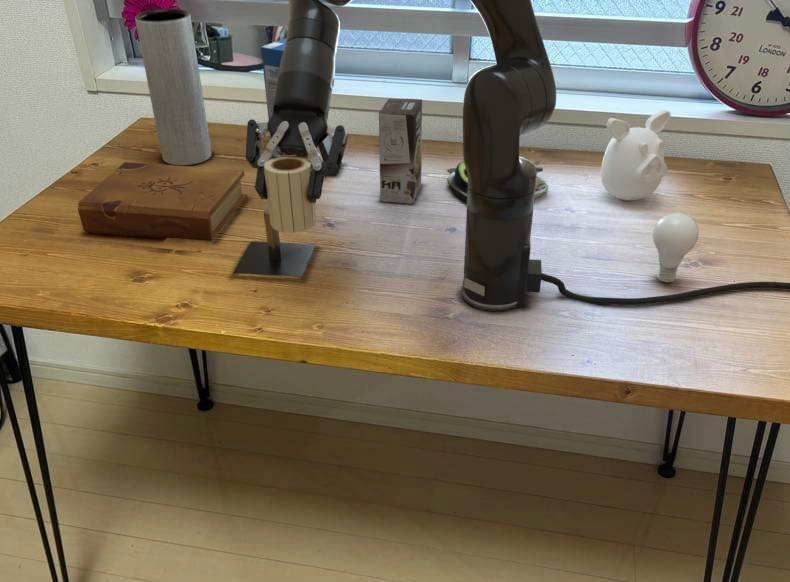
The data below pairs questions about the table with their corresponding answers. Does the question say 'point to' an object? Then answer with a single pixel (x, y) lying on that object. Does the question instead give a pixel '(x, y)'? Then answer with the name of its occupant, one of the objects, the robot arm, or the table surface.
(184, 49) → the vase
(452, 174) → the salad plate
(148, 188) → the diary
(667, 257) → the lightbulb
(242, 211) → the table surface
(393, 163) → the coffee box
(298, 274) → the stand
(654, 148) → the piggy bank
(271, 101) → the milk carton
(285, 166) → the wooden cup
